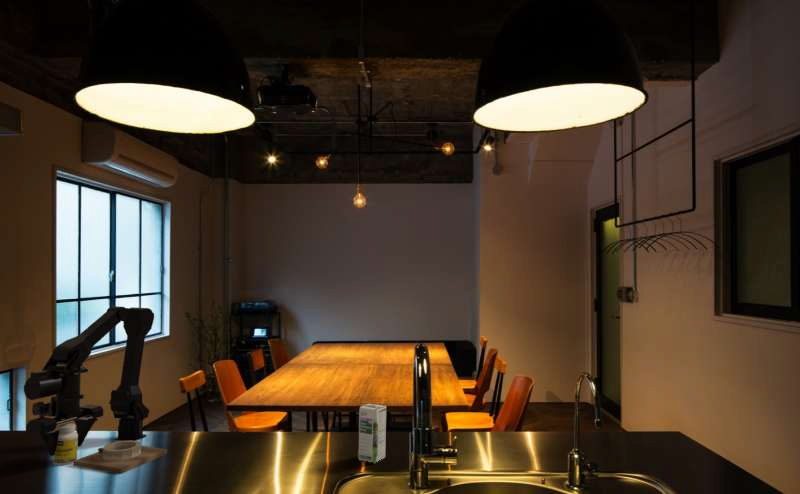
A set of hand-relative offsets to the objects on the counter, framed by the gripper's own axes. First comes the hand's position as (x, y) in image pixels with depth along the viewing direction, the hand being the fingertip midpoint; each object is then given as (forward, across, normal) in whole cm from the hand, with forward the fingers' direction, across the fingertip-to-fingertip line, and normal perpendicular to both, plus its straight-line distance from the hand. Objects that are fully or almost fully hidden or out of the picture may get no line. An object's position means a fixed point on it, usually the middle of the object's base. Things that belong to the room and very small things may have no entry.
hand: (65, 450), depth 146 cm
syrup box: (+3, -32, +75) cm, 82 cm away
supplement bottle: (+3, 0, 0) cm, 3 cm away
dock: (+3, -7, +12) cm, 14 cm away
